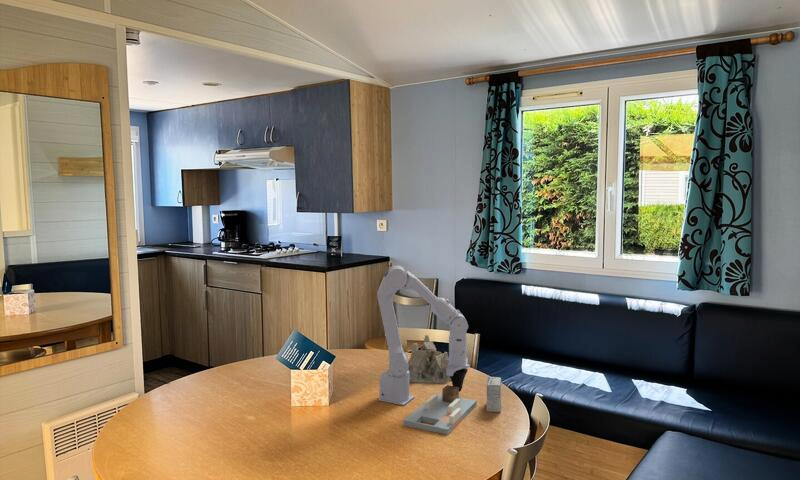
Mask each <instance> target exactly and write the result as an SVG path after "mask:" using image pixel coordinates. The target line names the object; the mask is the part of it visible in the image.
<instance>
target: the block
mask: <svg viewBox="0 0 800 480" xmlns="http://www.w3.org/2000/svg"><path fill="white" fill-rule="evenodd" d="M441 391H442V392H441V394H442V401H444V402H449V403H452V402H453V401H454V400H455V399H459V397H460V395H459V394H460V392H459V387H455V386H453V385H448V384H447V385H446V386H444V387H443V388H442V390H441Z"/></svg>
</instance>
